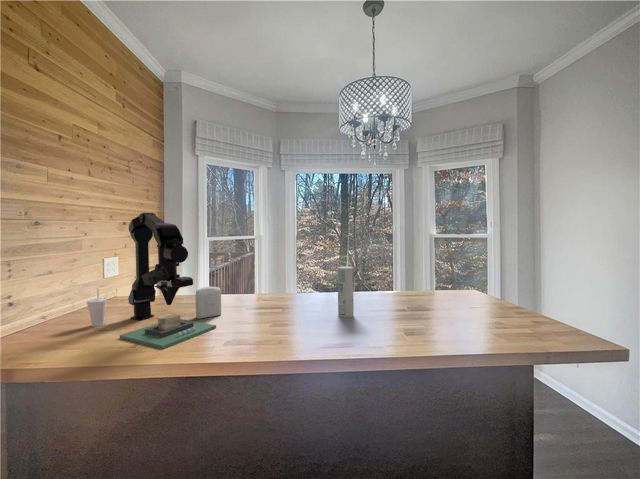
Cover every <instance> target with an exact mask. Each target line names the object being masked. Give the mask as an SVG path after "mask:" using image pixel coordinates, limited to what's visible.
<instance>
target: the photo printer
mask: <svg viewBox="0 0 640 479" xmlns="http://www.w3.org/2000/svg"><path fill="white" fill-rule="evenodd" d="M195 290H196V291H195V318H196V319H198V320H200V319H204V318H211V317H217V316H221V315H222V291H221V287H218V286H203V287H201V288H198V289H195Z"/></svg>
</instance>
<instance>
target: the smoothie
mask: <svg viewBox="0 0 640 479" xmlns="http://www.w3.org/2000/svg"><path fill="white" fill-rule="evenodd" d="M96 295H97V296H96V298H93V299H89V300H87V301H86V305H87V307H88V313H89V318H90V322H91V326H92V328H95V327H96V328H97V327H101V326H104V324H105V316H106V307H107V306H106V305H107V304H106V303H107V302H108V299H107V298H100V289H99V288H96Z"/></svg>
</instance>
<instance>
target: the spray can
mask: <svg viewBox="0 0 640 479" xmlns="http://www.w3.org/2000/svg"><path fill="white" fill-rule="evenodd" d="M354 270H355V269H354V267H353V266H350V265H349V266H346V265H345V266H344V265H343V266H338V267H337V311H338V312H337V314H338V317H339V318H343V319H344V318H346V319H347V318H352V317H354V280H355V279H354V273H355V272H354Z"/></svg>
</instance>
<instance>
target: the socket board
mask: <svg viewBox="0 0 640 479" xmlns="http://www.w3.org/2000/svg"><path fill="white" fill-rule="evenodd" d="M180 322H181V325H180V326H177V327H174V328H171V329H168V330H165V331H161V330H158V322H156V323H155V324H151V325H148V326H145V327H141V328H138V329H135V330H133V331H129V332H126V333H122V334H120V335H119V339H121V338H122V340H125V339H126V341H129V340H130V342H133V341H134V343H137V342H138V344H141V343H142V345H145V344H146V346H150V347H154V348H157V349H161V350H164V349H168V348H169V347H172V346H175V345H177V344H180V343H182V342H185V341H187V340H190V339H193V338H194V337H197V336H200V335H202V334H204V333H207V332H210V331H212V330H215V329H217V325H216V324H211V323H207V322H206V323H204V322H200V321H199V322H198V321H194V320H189V319H182V318H180Z"/></svg>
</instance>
